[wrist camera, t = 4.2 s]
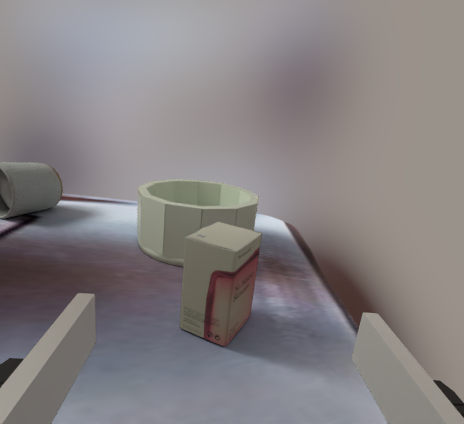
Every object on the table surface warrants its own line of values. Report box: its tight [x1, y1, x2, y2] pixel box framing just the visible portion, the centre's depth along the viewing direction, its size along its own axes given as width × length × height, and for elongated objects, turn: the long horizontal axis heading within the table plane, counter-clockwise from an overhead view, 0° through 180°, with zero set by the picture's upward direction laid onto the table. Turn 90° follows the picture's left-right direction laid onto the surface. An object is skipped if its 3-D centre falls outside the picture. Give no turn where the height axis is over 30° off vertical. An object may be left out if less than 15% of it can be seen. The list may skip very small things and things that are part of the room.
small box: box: [180, 222, 262, 346], centre depth 24 cm, size 5×4×8 cm
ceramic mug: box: [0, 162, 63, 219], centre depth 45 cm, size 11×8×8 cm
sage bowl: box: [137, 179, 259, 267], centre depth 40 cm, size 15×15×7 cm
